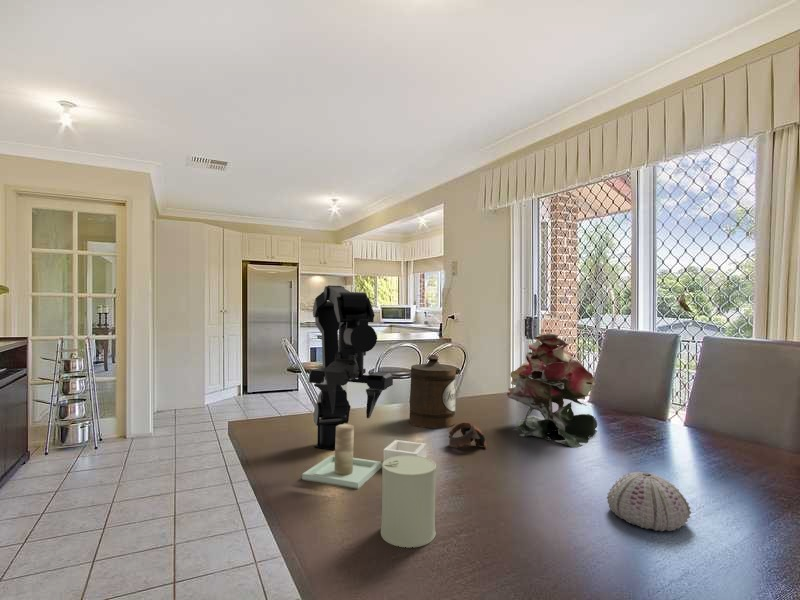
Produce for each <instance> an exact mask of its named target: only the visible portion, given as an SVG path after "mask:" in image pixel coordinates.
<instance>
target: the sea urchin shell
mask: <svg viewBox="0 0 800 600" xmlns="http://www.w3.org/2000/svg"><path fill="white" fill-rule="evenodd" d="M606 499H607V500H606V501H607V504H608V508H610V510H611V512H612V513H614V514H615V516H617V517H619V518H620V519H621V520H625V521H626V523H629V524H632V525H634V526H635V525H636V526H637V527H640V528H642V529H643V528H644V529H646V530H648V529H652V530H653V531H655V532H656V531H659V532H663V531H668V532H671V531H676V529H678V530H679V529H680V528H681V527H685V523H688V521H689V520H688V519H690V518H691V516H690V515H691V514H692V511H691V508H692V507H691V506H689V504H690V502H687V498H685V497H684V495H683V493H682V492H681V491H680V489H678V488H677V487H676V486H675V484H673V483H671V482H670V481H669V480H667V479H665V478H664V477H661V476H659V475H656V474H654V473H651V472H645V471H644V472H642V471H633V472H629V473H626V474H623V476H621V477H619V479H618V480H616V481H615V483H614V484H612V487H611V488H610V489H609V492H608V493H607V496H606Z"/></svg>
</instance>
